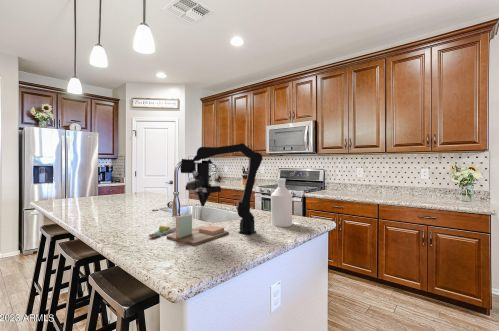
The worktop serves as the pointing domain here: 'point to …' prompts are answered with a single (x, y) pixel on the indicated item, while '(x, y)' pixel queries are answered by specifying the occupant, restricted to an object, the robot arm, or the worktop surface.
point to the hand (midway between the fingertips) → (202, 206)
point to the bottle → (281, 206)
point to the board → (196, 237)
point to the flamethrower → (162, 231)
